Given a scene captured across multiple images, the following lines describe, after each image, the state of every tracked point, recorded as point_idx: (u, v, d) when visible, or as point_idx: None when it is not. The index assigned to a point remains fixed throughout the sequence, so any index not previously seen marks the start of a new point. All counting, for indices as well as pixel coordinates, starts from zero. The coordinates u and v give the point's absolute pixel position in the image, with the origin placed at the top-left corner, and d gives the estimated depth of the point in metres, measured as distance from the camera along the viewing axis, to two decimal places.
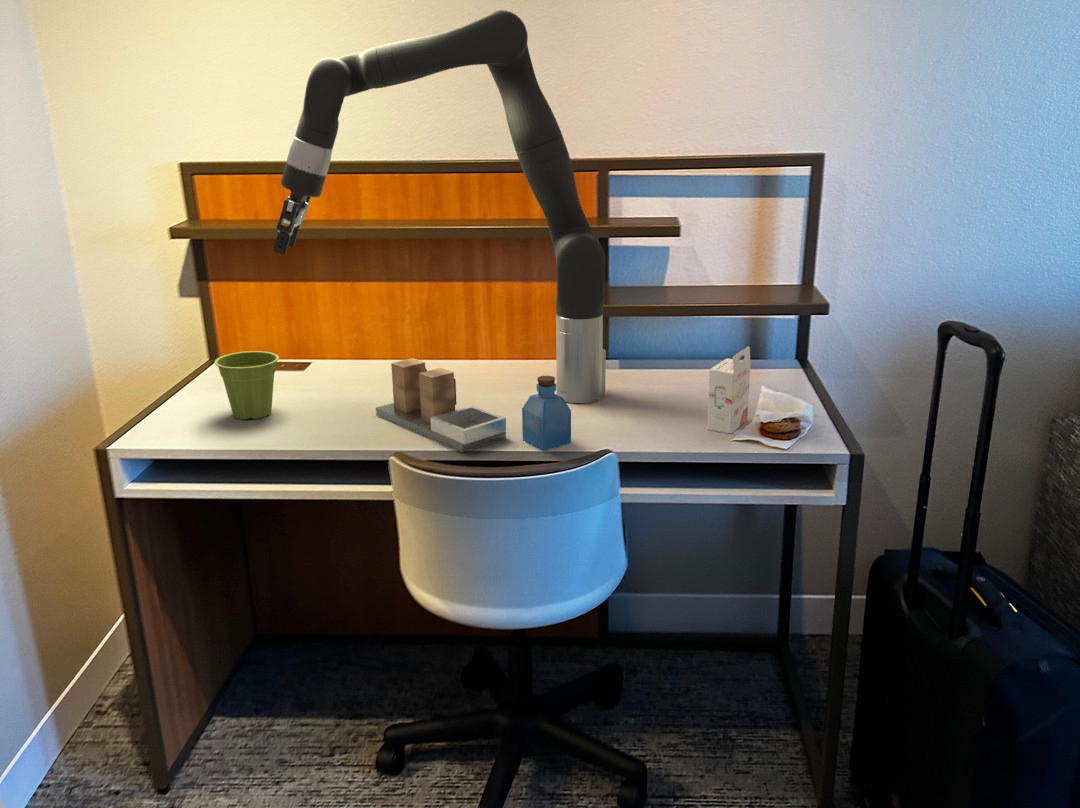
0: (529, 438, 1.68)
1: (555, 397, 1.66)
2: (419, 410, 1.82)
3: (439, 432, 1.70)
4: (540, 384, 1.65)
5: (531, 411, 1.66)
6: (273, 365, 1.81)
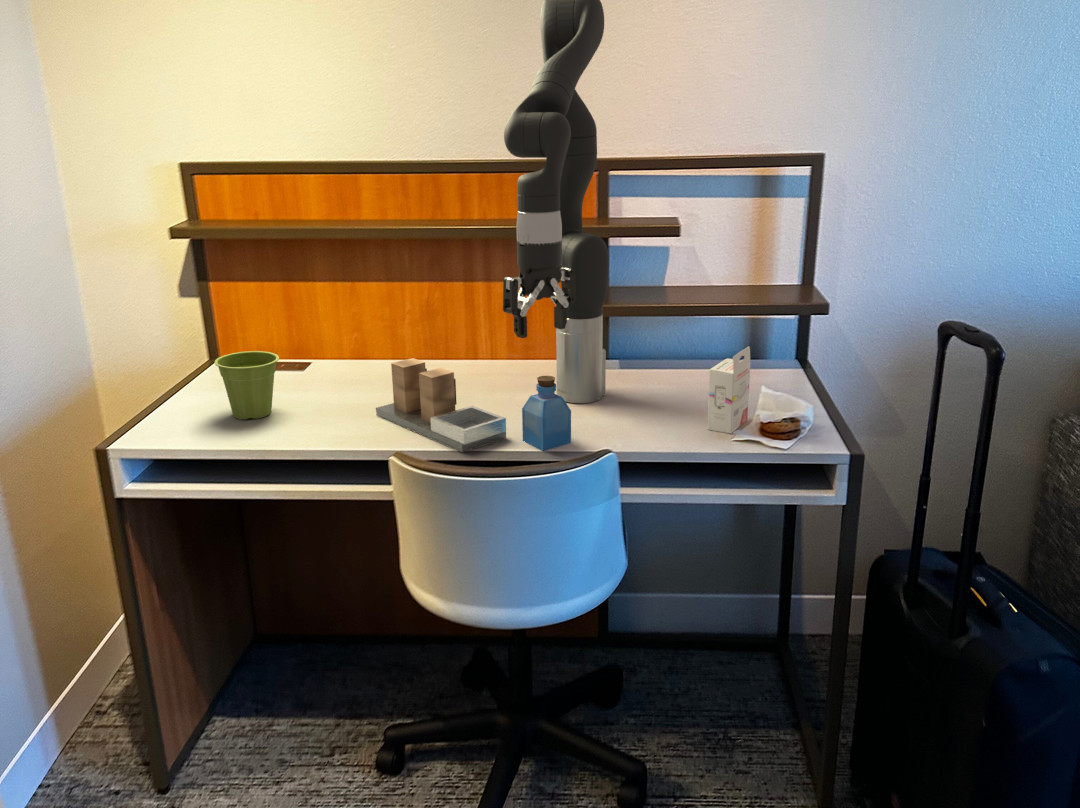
0: (529, 438, 1.68)
1: (555, 397, 1.66)
2: (419, 410, 1.82)
3: (439, 432, 1.70)
4: (540, 384, 1.65)
5: (531, 411, 1.66)
6: (273, 365, 1.81)
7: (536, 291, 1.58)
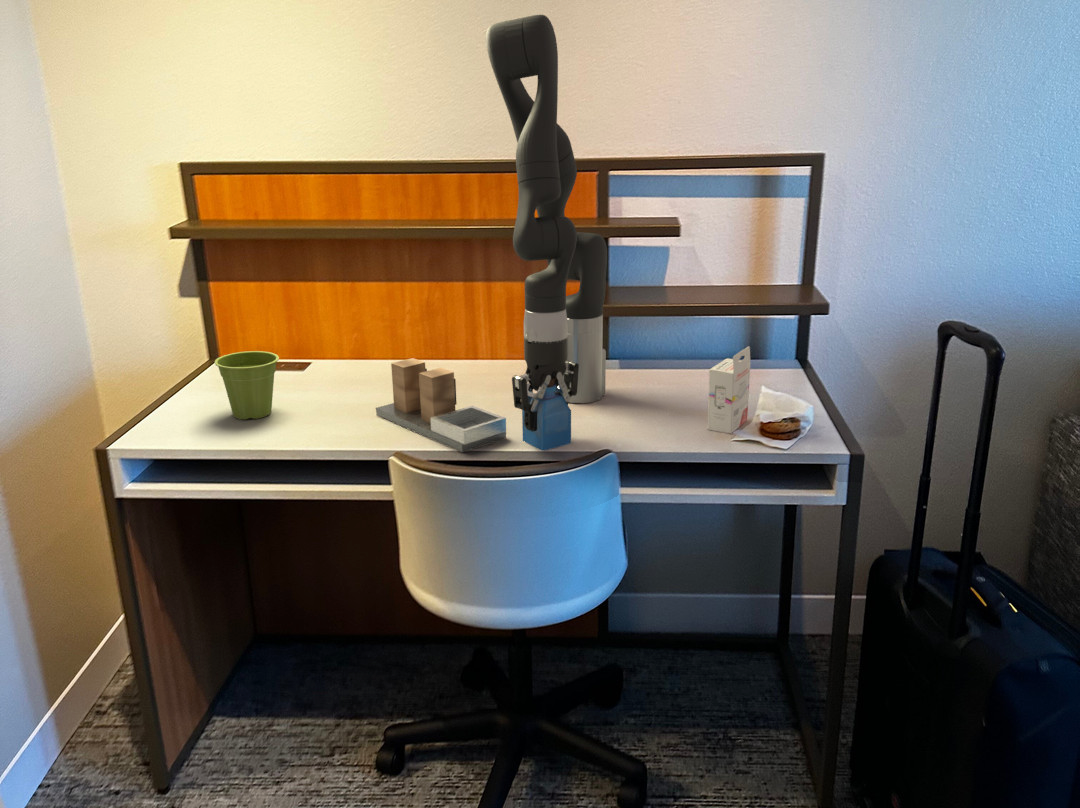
0: (529, 438, 1.68)
1: (555, 397, 1.66)
2: (419, 410, 1.82)
3: (439, 432, 1.70)
4: None
5: None
6: (273, 365, 1.81)
7: (543, 386, 1.63)
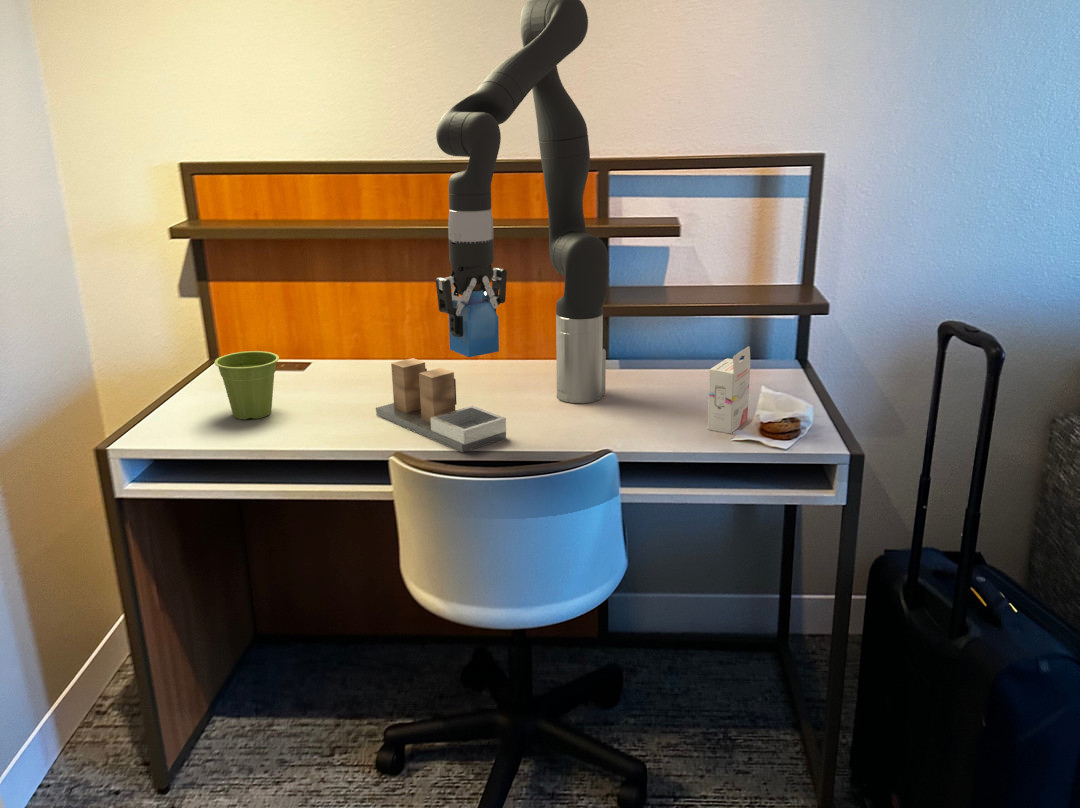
0: (455, 345, 1.64)
1: (482, 302, 1.62)
2: (419, 410, 1.82)
3: (439, 432, 1.70)
4: None
5: None
6: (273, 365, 1.81)
7: (469, 290, 1.60)
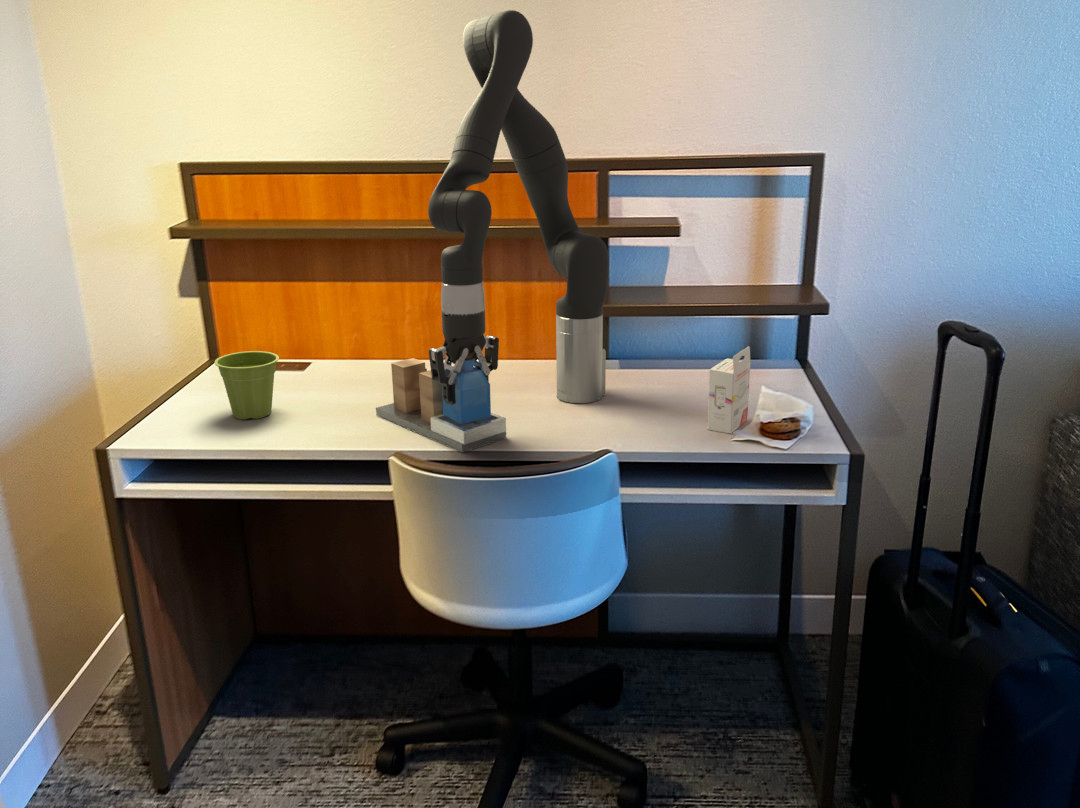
0: (448, 411, 1.69)
1: (474, 370, 1.67)
2: (419, 410, 1.82)
3: (439, 432, 1.70)
4: None
5: None
6: (273, 365, 1.81)
7: (461, 359, 1.64)
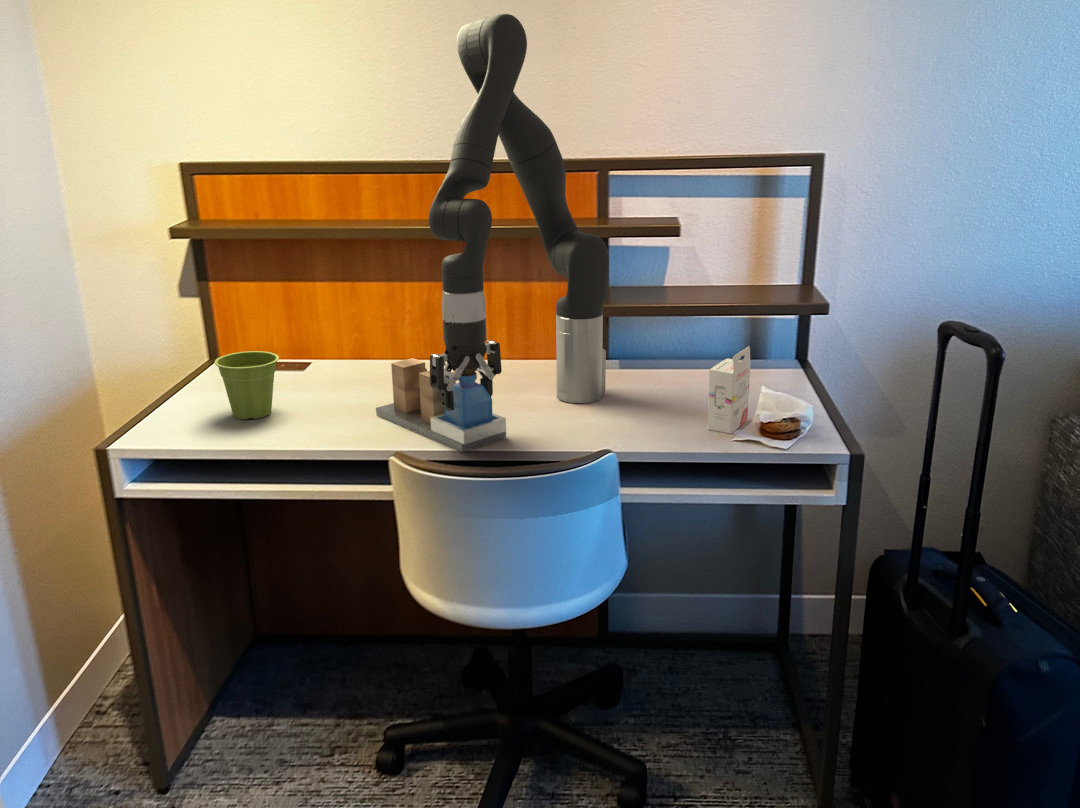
0: None
1: (476, 386, 1.68)
2: (419, 410, 1.82)
3: (439, 432, 1.70)
4: None
5: None
6: (273, 365, 1.81)
7: (461, 367, 1.64)
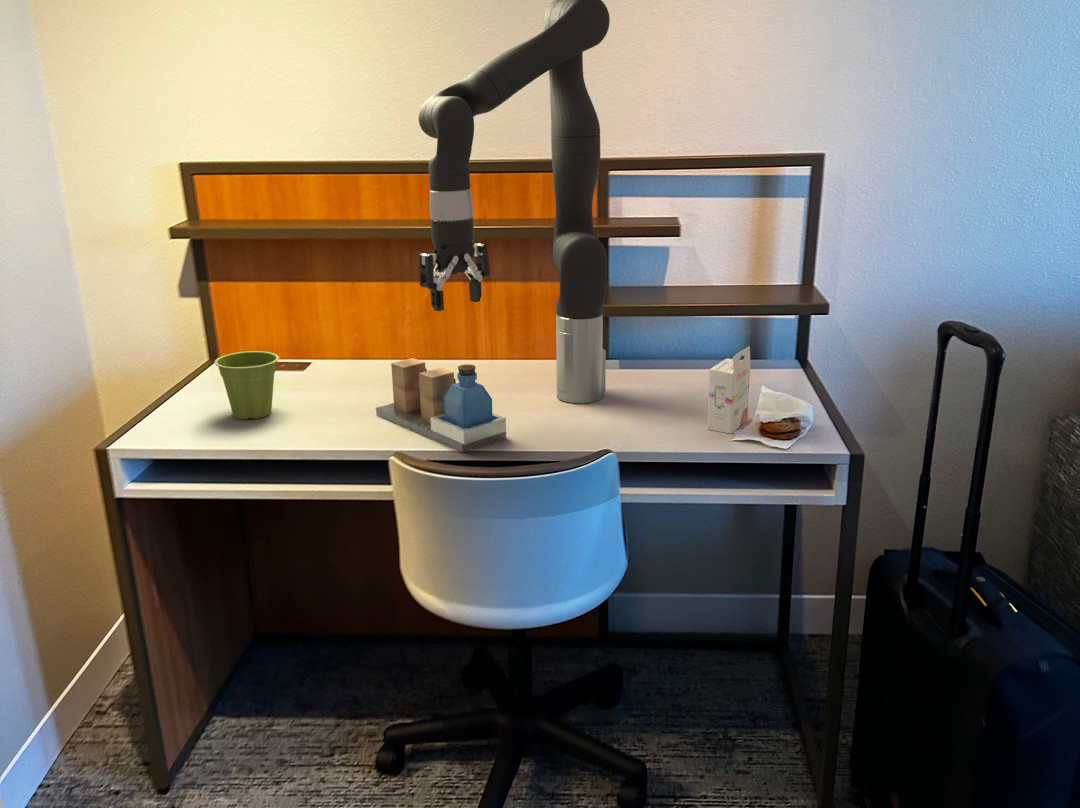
0: None
1: (476, 386, 1.68)
2: (419, 410, 1.82)
3: (439, 432, 1.70)
4: (460, 373, 1.67)
5: (452, 399, 1.68)
6: (273, 365, 1.81)
7: (450, 266, 1.67)
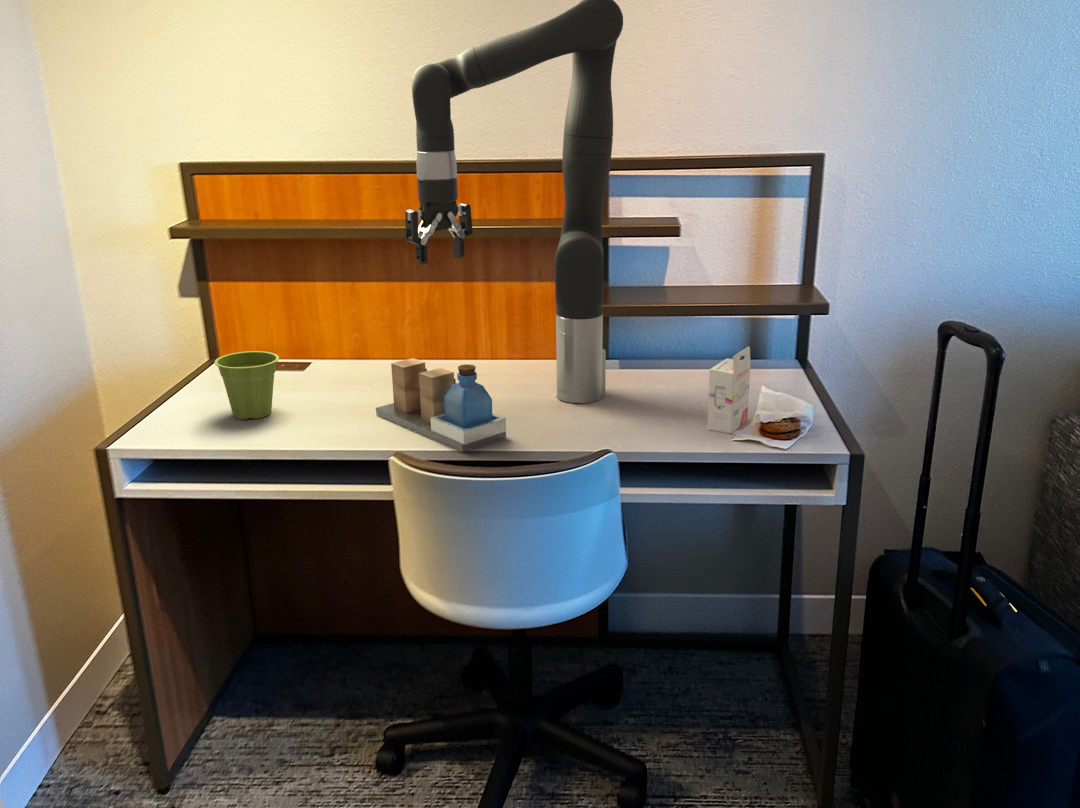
0: None
1: (476, 386, 1.68)
2: (419, 410, 1.82)
3: (439, 432, 1.70)
4: (460, 373, 1.67)
5: (452, 399, 1.68)
6: (273, 365, 1.81)
7: (434, 223, 1.79)
